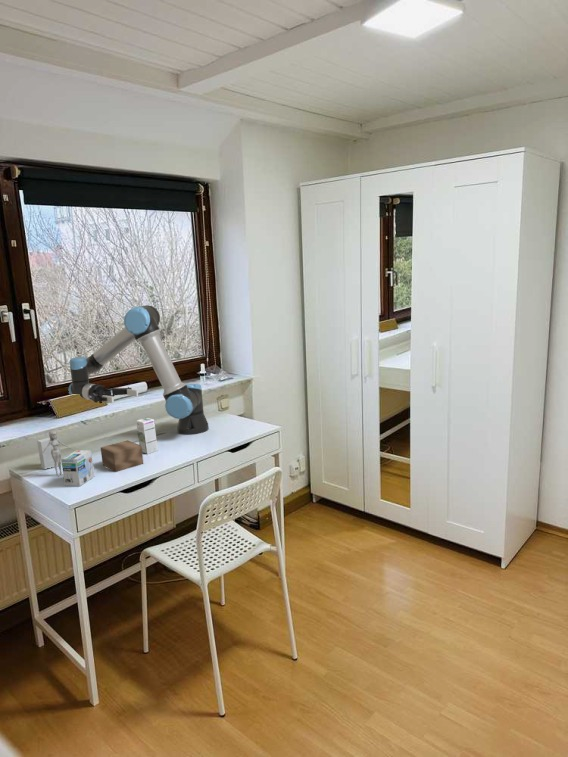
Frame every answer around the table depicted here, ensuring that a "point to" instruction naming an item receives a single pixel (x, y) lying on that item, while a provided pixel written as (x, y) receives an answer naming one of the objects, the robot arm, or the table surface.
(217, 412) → the table surface
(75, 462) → the light bulb box
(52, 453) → the human figurine
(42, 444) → the skincare box
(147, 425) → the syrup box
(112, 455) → the walnut block
